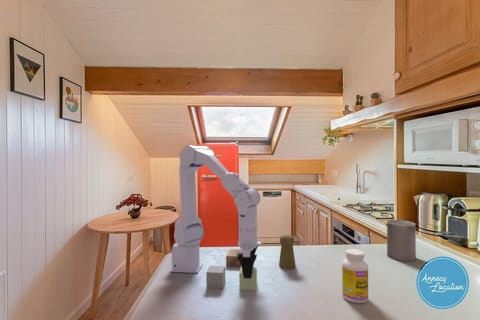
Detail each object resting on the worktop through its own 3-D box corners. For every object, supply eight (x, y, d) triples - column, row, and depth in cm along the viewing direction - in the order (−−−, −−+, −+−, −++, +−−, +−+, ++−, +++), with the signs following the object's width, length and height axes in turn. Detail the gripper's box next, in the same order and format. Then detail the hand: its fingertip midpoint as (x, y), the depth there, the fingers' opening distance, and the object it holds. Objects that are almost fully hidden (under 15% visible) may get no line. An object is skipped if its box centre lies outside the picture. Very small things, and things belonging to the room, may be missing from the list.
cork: (295, 269, 95) (295, 238, 95) (278, 268, 96) (278, 237, 96) (295, 263, 101) (295, 233, 101) (279, 262, 102) (279, 233, 102)
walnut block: (226, 267, 99) (226, 256, 99) (230, 259, 107) (230, 249, 107) (247, 268, 98) (247, 256, 98) (250, 259, 106) (250, 249, 106)
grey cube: (206, 288, 82) (206, 272, 82) (210, 281, 87) (209, 265, 87) (222, 289, 81) (222, 272, 81) (225, 282, 86) (225, 266, 86)
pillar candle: (384, 252, 112) (384, 216, 112) (411, 254, 110) (410, 216, 110) (390, 260, 103) (390, 221, 103) (420, 263, 100) (419, 222, 100)
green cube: (239, 290, 81) (239, 273, 81) (241, 282, 86) (240, 266, 86) (256, 290, 80) (256, 273, 80) (256, 283, 85) (256, 267, 85)
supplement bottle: (355, 306, 71) (355, 257, 71) (337, 295, 77) (336, 249, 77) (374, 301, 73) (373, 253, 74) (354, 290, 80) (354, 246, 80)
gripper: (260, 234, 76) (261, 283, 75) (261, 222, 90) (262, 264, 90) (235, 234, 76) (235, 282, 76) (240, 222, 91) (240, 263, 91)
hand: (248, 272), depth 83 cm, fingers open, 7 cm apart
